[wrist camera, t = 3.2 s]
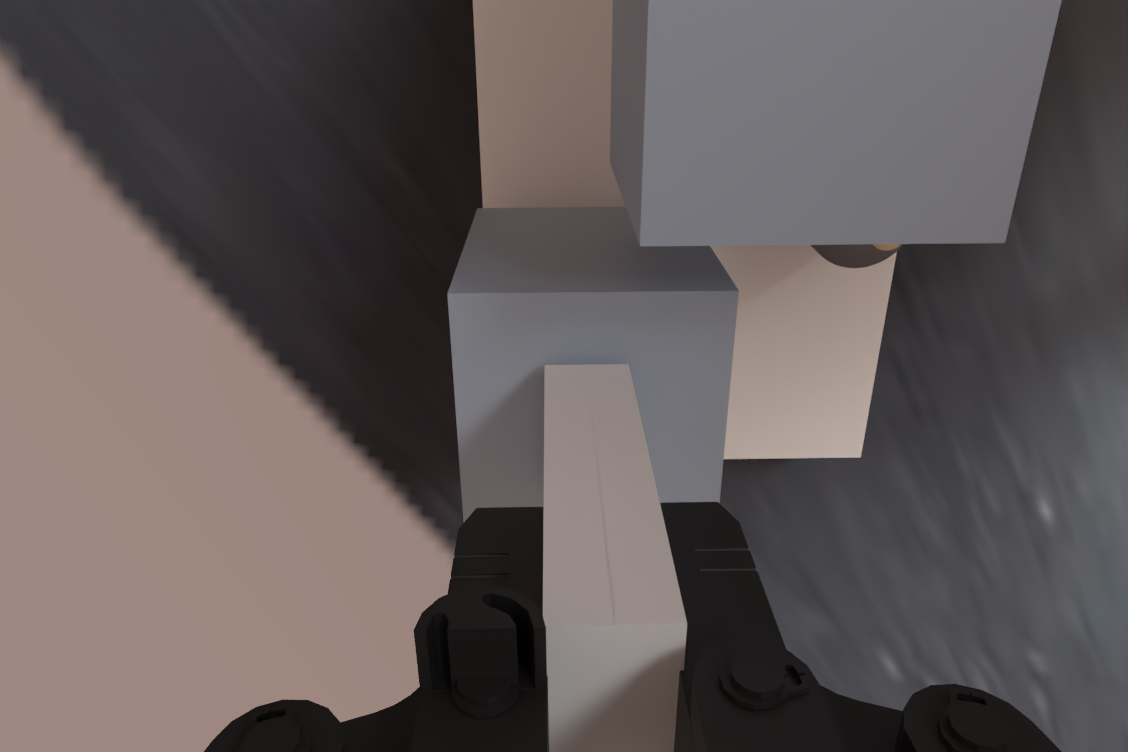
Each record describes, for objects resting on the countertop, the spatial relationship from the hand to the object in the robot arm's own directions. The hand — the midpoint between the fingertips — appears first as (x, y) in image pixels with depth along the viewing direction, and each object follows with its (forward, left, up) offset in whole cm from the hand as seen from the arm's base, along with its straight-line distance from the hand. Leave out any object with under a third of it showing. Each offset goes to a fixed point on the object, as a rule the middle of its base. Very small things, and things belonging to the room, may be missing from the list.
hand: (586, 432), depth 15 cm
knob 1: (0, 0, -6) cm, 7 cm away
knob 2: (-3, -7, -4) cm, 8 cm away
